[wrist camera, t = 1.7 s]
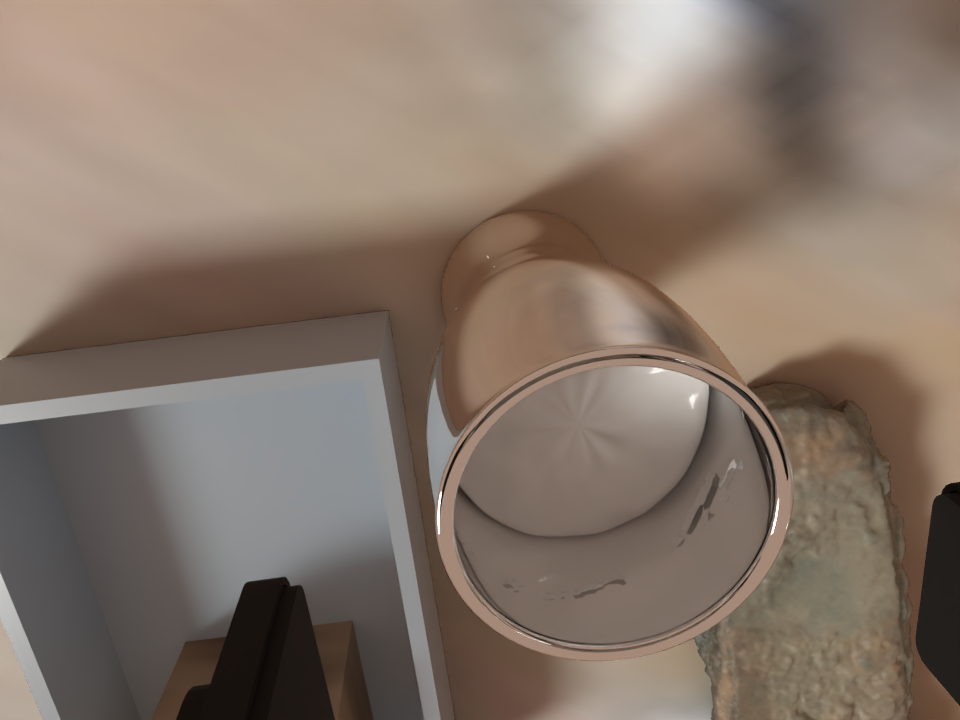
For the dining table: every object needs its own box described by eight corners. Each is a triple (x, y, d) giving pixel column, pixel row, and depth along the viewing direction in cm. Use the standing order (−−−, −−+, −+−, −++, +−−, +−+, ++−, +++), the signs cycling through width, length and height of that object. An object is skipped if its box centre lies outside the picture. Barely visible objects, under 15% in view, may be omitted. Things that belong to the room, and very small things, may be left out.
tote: (388, 310, 27) (378, 358, 23) (460, 756, 35) (464, 860, 31) (4, 357, 27) (-85, 416, 23) (162, 795, 35) (121, 906, 31)
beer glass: (636, 211, 27) (859, 361, 13) (598, 390, 29) (749, 684, 15) (441, 184, 26) (449, 312, 12) (418, 370, 28) (402, 658, 14)
